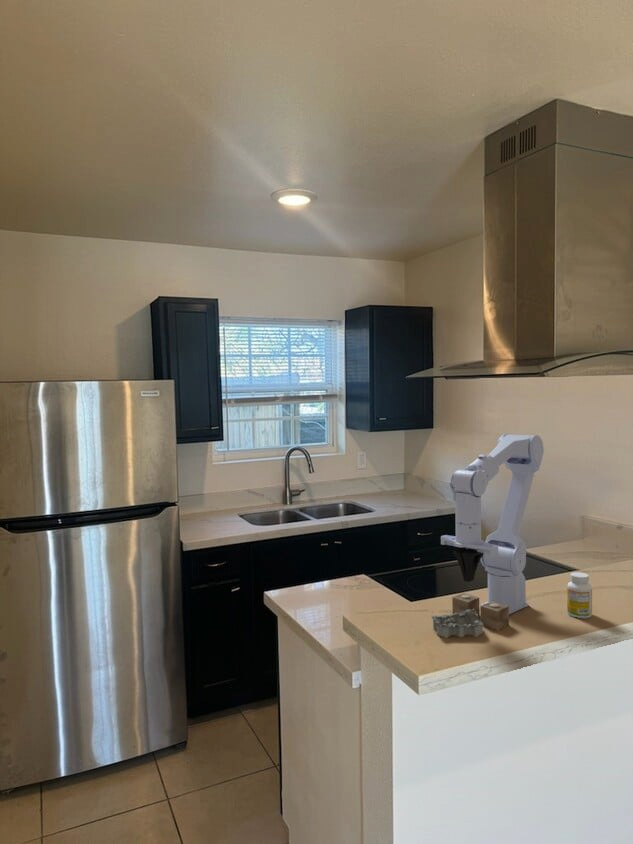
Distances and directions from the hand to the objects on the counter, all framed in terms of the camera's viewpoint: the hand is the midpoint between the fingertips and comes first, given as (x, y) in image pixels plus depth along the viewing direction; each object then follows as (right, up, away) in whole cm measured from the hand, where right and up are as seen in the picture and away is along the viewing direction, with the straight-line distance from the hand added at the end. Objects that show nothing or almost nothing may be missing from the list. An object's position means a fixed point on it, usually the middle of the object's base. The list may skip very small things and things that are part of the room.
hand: (468, 580), depth 136 cm
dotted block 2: (+6, -10, 0) cm, 12 cm away
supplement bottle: (+28, -10, +5) cm, 30 cm away
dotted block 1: (+1, -10, +6) cm, 12 cm away
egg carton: (-3, -11, -3) cm, 12 cm away
